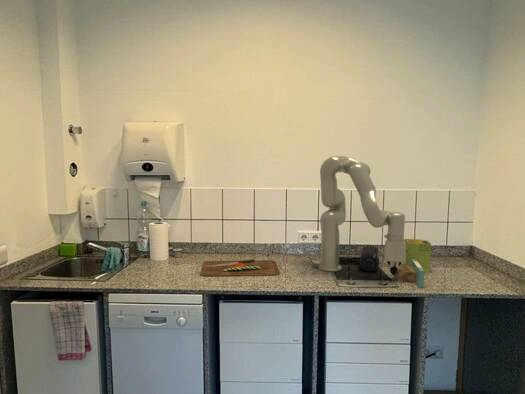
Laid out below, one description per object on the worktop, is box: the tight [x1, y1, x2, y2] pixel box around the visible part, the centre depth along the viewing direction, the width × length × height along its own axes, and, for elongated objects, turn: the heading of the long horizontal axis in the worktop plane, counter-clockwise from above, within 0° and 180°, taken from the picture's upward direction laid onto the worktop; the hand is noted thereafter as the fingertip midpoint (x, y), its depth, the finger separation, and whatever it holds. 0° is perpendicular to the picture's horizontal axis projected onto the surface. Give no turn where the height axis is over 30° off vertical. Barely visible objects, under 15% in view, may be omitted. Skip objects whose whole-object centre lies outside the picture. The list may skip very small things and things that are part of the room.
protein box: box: [399, 238, 432, 274], centre depth 212 cm, size 10×15×16 cm
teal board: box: [411, 259, 425, 289], centre depth 193 cm, size 2×20×8 cm, turn 170°
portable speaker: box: [359, 245, 381, 272], centre depth 217 cm, size 25×10×10 cm, turn 163°
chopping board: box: [195, 258, 285, 278], centre depth 211 cm, size 45×27×3 cm, turn 94°
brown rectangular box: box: [394, 266, 416, 284], centre depth 196 cm, size 8×10×5 cm
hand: (393, 274), depth 195 cm, fingers closed
